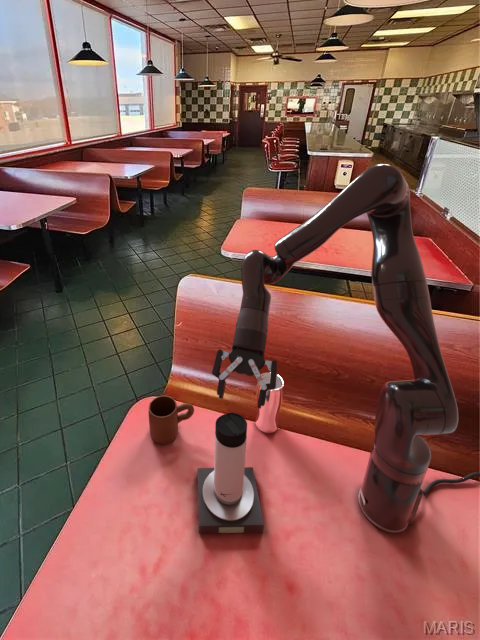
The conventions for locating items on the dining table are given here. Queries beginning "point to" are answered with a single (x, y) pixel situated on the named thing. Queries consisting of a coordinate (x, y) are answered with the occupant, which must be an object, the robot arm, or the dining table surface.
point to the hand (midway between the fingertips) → (239, 403)
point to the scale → (214, 525)
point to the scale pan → (223, 510)
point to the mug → (166, 418)
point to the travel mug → (229, 457)
